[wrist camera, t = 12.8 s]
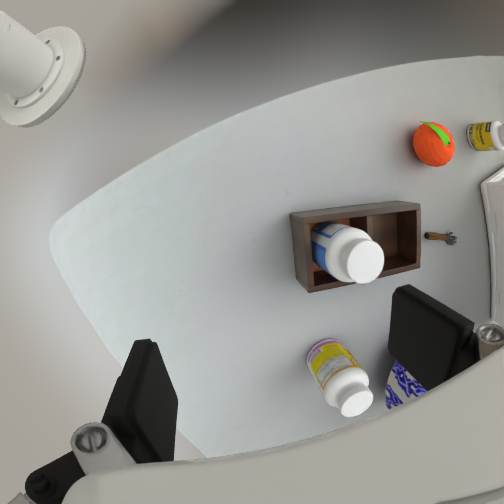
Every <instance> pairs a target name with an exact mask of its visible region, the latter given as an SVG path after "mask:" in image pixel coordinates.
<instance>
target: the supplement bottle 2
mask: <svg viewBox="0 0 504 504" xmlns="http://www.w3.org/2000/svg"><path fill="white" fill-rule="evenodd" d="M467 137H468V141H469V143H470V145H471V147H472V148H473V149H474V150H477V151H488V150H504V124H502V125H501V124H500V123H499V122H497V121H492V122H482V123H474V124H470V125H469V126H468V129H467Z"/></svg>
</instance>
